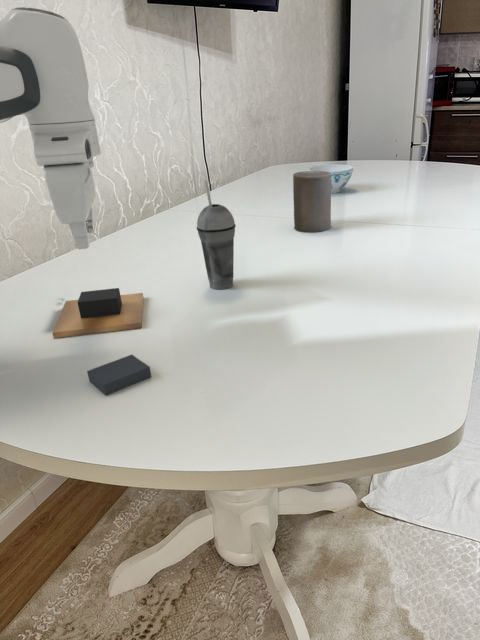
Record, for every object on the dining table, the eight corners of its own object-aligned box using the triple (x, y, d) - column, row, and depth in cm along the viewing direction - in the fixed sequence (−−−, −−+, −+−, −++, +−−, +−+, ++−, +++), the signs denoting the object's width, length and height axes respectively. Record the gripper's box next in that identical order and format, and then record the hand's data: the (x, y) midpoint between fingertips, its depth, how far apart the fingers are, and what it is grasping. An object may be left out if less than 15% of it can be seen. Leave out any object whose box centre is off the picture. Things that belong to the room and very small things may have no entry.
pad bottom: (81, 318, 89) (77, 302, 87) (84, 307, 93) (81, 291, 92) (120, 314, 89) (117, 298, 88) (121, 303, 94) (119, 287, 92)
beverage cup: (245, 287, 101) (237, 180, 91) (208, 294, 98) (197, 184, 89) (233, 276, 107) (224, 174, 97) (198, 282, 104) (186, 178, 95)
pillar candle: (290, 232, 135) (288, 171, 128) (298, 222, 143) (297, 165, 136) (327, 233, 132) (327, 171, 125) (334, 223, 140) (335, 164, 134)
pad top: (107, 405, 66) (103, 385, 65) (91, 390, 69) (86, 370, 68) (153, 386, 70) (149, 366, 68) (135, 373, 73) (131, 354, 72)
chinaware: (329, 185, 188) (329, 163, 185) (361, 190, 178) (362, 166, 174) (299, 192, 180) (298, 169, 176) (331, 198, 169) (331, 173, 166)
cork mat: (53, 338, 85) (52, 332, 84) (66, 306, 97) (65, 300, 96) (141, 328, 86) (140, 322, 86) (143, 297, 99) (142, 292, 98)
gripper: (53, 138, 83) (72, 225, 89) (31, 153, 65) (56, 260, 72) (94, 136, 84) (110, 222, 91) (83, 149, 66) (103, 255, 73)
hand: (86, 239), depth 81 cm, fingers open, 8 cm apart
